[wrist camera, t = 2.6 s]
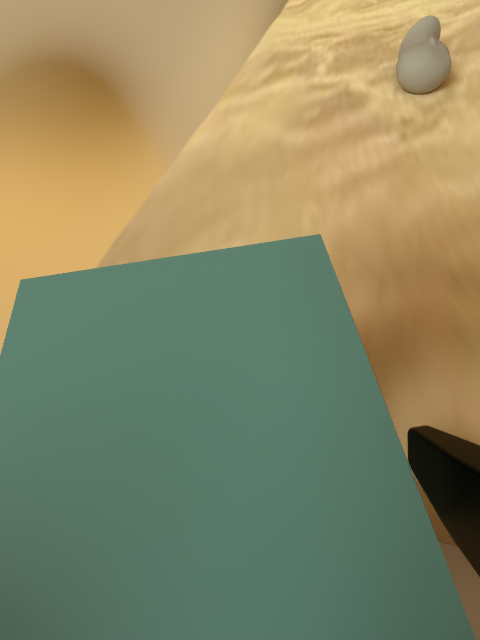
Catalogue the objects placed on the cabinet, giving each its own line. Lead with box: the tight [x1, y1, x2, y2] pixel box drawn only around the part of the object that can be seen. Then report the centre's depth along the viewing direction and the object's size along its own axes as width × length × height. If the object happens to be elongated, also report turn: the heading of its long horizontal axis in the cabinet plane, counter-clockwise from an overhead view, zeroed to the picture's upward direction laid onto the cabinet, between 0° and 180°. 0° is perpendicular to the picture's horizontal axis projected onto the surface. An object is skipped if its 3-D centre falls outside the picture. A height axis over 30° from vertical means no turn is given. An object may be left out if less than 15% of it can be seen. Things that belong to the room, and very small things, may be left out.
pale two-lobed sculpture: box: [396, 16, 451, 94], centre depth 31 cm, size 4×8×5 cm
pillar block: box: [0, 234, 476, 640], centre depth 9 cm, size 5×5×12 cm
